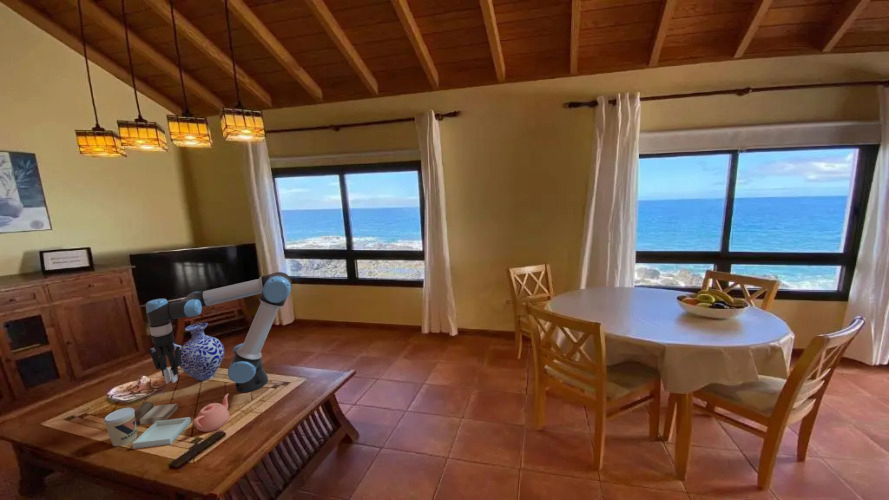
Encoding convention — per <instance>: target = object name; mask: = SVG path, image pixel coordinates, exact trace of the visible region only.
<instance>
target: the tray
mask: <svg viewBox="0 0 889 500" xmlns="http://www.w3.org/2000/svg"><path fill="white" fill-rule="evenodd" d="M190 423H192V420H191V417H190V416H188V417H179V418H171V419H169V418H168V419H167V420H161V421H156V422H155V423H151V425H150V426H149V427H148V428H147V429H146V430H145V431H144V432H143V433H141V434H140V435H139V436H137V437H136V438H135V439H134V441H133V442H132V443H131V445H132V448H133V449H134V450H135V449H137V450H138V449H143V448H144V447H145V448H150V447H152V448H153V447H159V446H165V445H172V443H174V441H175V440H177V438H178V437H179V436H180V435H181V434H182V433H183V431H185V430H186V429H187V427H188V426H189V425H190ZM133 449H132V450H133Z"/></svg>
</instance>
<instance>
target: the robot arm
mask: <svg viewBox="0 0 889 500" xmlns="http://www.w3.org/2000/svg"><path fill="white" fill-rule="evenodd" d="M292 285H293V284H292V278H291V276H289V275H288V274H287V273H285V272H282V271H278V272H273V273H268V274H266V275H261V276H260V277H259V278H258V279H257V278H256V279H253V280H252V279H251V280H248V281H243V282H239V283H234V284H230V285H226V286H221V287H217V288H212V289H208V290H204V291H192V292H191V293H189V294H188V295H186V296H185V297H184V298H183V299H182V300H180V301H179V300H178V301H175V302H168V300H167V299H166V298H156V299H151V300H149V301H147V302H146V303H145V310H146V315H147V316H146V317H147V321H148V325H149V331H150V335H151V340H152V344H153V347H150V348H149V349H148V350H147V352H148V354H149V355H150V356H151V360H152V362H153V365H154V366H155V369H156V370H160V371H161V373H162V377H164V381H165V384H166V385H167V384H169V383H171V382H172V384H174V383H176V382H177V381H178V373H179V370H178V367H180V365H181V349H182V346H183V345H182V344H180V345H179V344H177V343H176V341H175V336H174V331H173V326H172V321H171V320H176V319H182V318H192V317H196V316H199V315H200V314H201V313H202V310H203V308H204V307H208V306H213V305H216V304H222V303H225V302H229V301H235V300H238V299H242V298H248V297H250V296H255V295H259V294H260V295H259V297H258V299H259V301H260V304H259V306H258V309H257V311H256V313H255V315H254V318H253V321H251V322H252V323H251V324H250V327H249V330H248V332H247V334H246V337H245V339H244V342H243V343H242V342H241V343H239V344H236V345H235V346H234V347H233V351H232V352H233V354H234V356H233V358H232V360H231V363H230V366H229V367H228V368H227V376H228V379H229V380H230V381H232V382H233V383H235V391H236V392H238V393H249V392H254V391H256V390H258V389H261V388H262V387H264V386H265V385H267V383H268V382H269V378H268V377H269V376H268V374H267V373H266V371H265V369H264V368H263V362H262V357H263V353H262V349H263V347H264V344H265V342H266V339H267V338H268V334H269V332H270V330H271V329H272V326H273V323H274V322H275V320H276V319H275V318H276V316H277V314H278V312H279V309H280V308H282V307H284V305H285V303H286V302H287V299H288V297H289V296H290V294H291V289H292ZM167 359H168V362H169V365H170V367H168V366H169V365H167V364H168V363H167Z"/></svg>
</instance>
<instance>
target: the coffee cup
mask: <svg viewBox="0 0 889 500" xmlns="http://www.w3.org/2000/svg"><path fill="white" fill-rule="evenodd" d="M135 410H136V409H134V408H133V407H123V408H120V409H117V410H115V411H113V412H111V413H108V414H107V415H106V416H105V417H104V419H103V423H104V424H105V427H106V430H107V433H108V436H109V438H110V441H111V444H112V446H113V447H120V446H123V445H126V444H129V443H131V442H132V441H133V440H134V441H135V440H136V439H137V438H138V432H137V431H138V430H137V425H136V420H135V413H134V412H135Z"/></svg>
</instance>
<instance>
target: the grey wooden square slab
mask: <svg viewBox="0 0 889 500" xmlns="http://www.w3.org/2000/svg"><path fill="white" fill-rule="evenodd" d="M178 409H179V405H178V403H171V404H170V403H169V404H161V405H160V404H159V405H153V408H152V409H151V410H149V411H148V412H147V413H146V414H145V415H144V416H143V417H142V418H140V419H139V420H140V424H139V425H149V424H154V423H155V422H156V421H161V420H169V418H170V417H172V415H173V414H175V412H176V411H177V410H178Z"/></svg>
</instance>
